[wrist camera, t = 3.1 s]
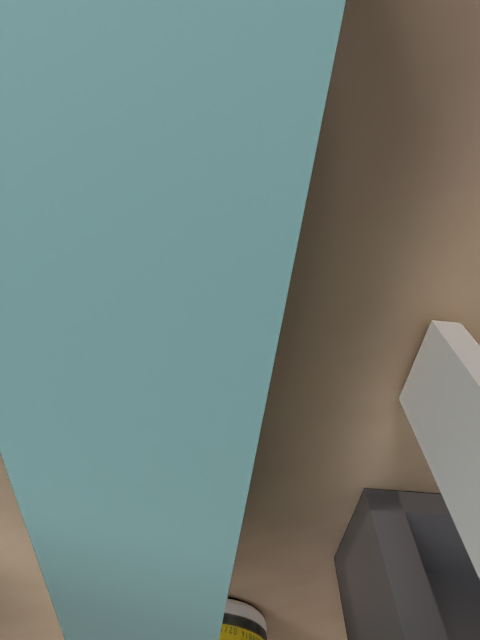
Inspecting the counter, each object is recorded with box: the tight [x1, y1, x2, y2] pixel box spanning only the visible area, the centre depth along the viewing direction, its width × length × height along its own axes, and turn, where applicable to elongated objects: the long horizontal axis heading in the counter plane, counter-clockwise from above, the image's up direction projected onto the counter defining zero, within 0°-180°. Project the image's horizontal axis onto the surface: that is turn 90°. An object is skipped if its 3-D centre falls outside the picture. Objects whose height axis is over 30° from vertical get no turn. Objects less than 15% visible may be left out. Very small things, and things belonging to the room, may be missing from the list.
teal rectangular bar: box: [0, 0, 346, 640], centre depth 9 cm, size 18×4×5 cm, turn 174°
